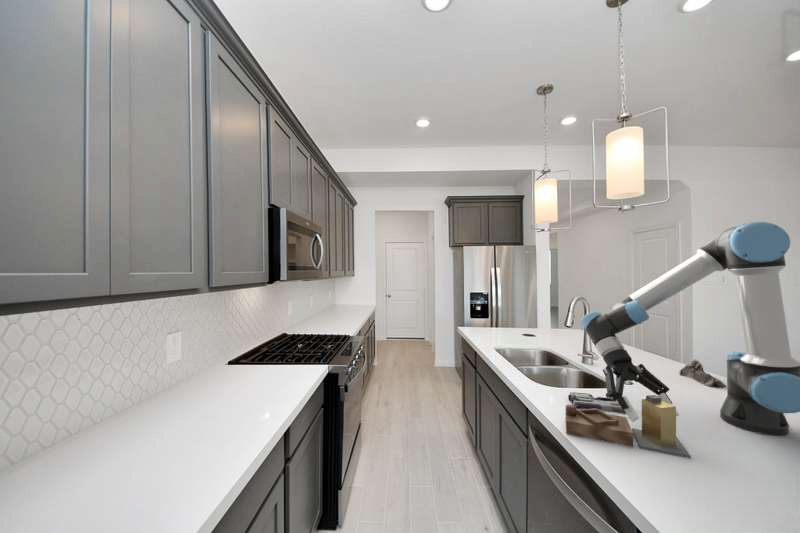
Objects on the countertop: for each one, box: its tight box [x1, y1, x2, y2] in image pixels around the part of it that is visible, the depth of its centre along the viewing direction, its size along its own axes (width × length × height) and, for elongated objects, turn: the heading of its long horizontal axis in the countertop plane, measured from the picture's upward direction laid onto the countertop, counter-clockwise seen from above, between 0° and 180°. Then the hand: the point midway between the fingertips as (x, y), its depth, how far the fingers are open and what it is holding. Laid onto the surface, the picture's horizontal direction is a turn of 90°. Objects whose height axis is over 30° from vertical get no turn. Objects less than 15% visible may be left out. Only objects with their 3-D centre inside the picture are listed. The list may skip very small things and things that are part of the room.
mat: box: [631, 427, 691, 459], centre depth 93 cm, size 11×11×1 cm
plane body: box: [565, 404, 634, 448], centre depth 100 cm, size 17×11×6 cm
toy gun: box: [568, 391, 627, 414], centre depth 121 cm, size 3×20×15 cm
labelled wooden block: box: [641, 394, 677, 447], centre depth 94 cm, size 5×6×12 cm
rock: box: [678, 359, 727, 389], centre depth 145 cm, size 18×11×10 cm, turn 166°
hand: (655, 418), depth 94 cm, fingers open, 13 cm apart
